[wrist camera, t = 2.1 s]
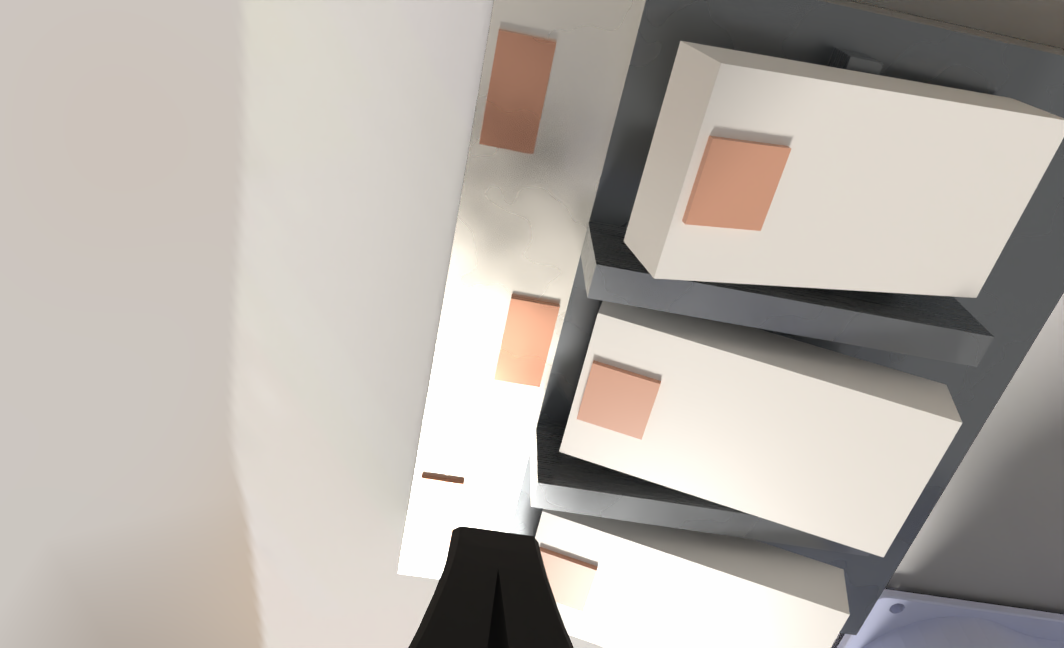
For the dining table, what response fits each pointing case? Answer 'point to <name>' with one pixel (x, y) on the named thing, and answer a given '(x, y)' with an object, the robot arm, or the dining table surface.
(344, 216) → the dining table surface
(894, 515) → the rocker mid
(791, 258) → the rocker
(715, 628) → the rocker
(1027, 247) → the switch panel
